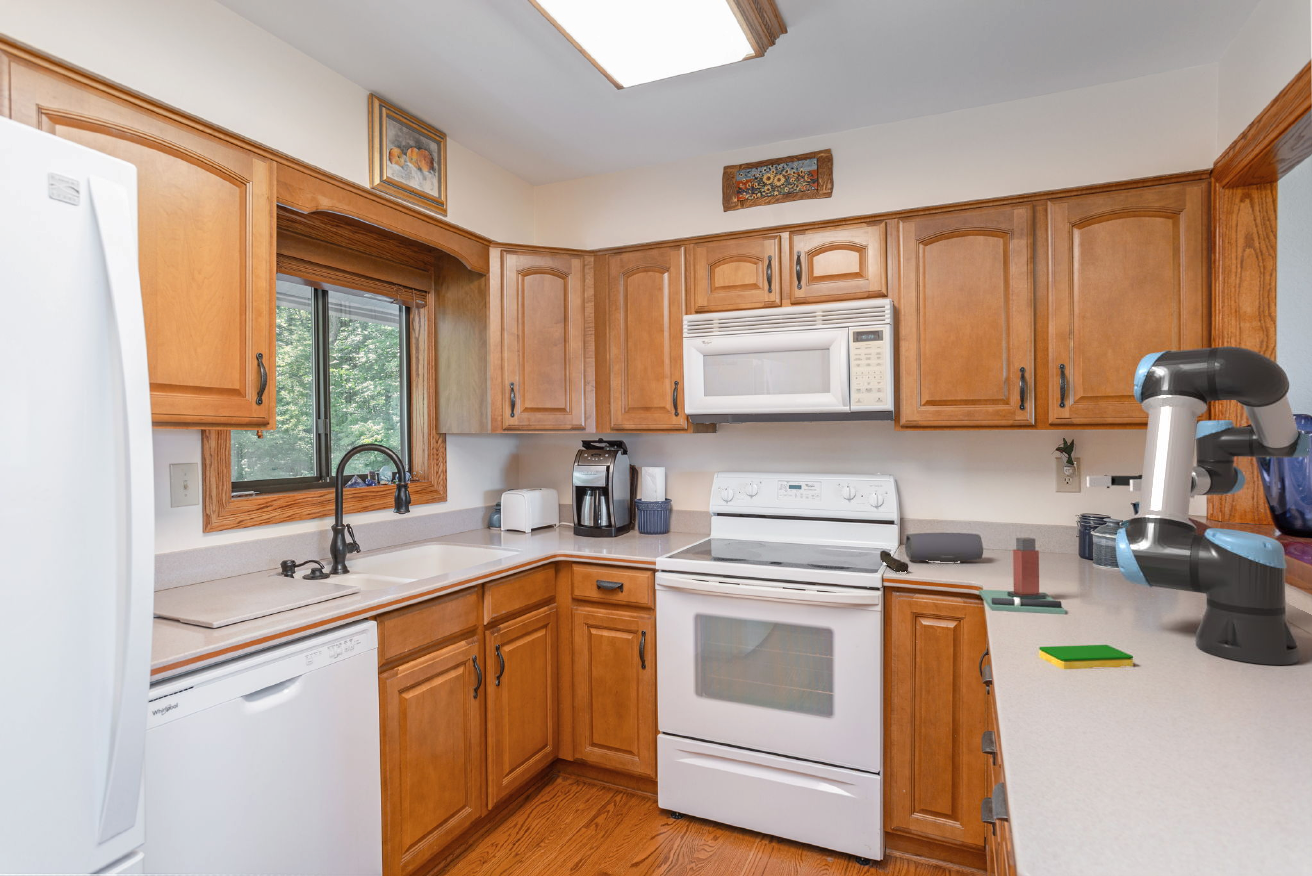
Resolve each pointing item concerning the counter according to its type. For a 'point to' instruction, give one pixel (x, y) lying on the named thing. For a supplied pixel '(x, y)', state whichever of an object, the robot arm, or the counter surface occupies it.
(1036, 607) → the cutting mat
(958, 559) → the bluetooth speaker
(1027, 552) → the grey-capped red pillar
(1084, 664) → the dish sponge
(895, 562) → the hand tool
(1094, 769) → the counter surface
